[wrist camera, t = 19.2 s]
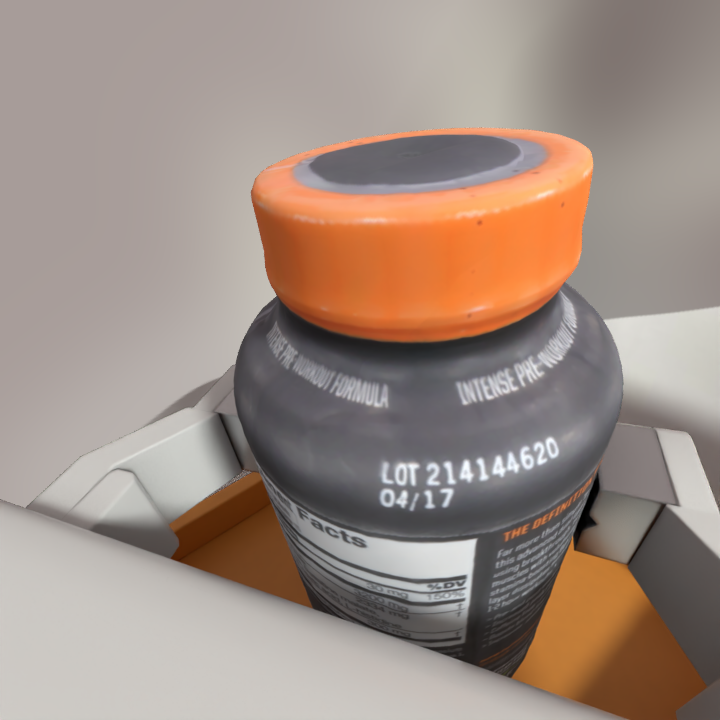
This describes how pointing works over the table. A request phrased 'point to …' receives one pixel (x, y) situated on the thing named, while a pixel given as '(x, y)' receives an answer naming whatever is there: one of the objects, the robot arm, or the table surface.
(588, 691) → the amber tray
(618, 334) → the table surface
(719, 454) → the table surface
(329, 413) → the pill bottle
